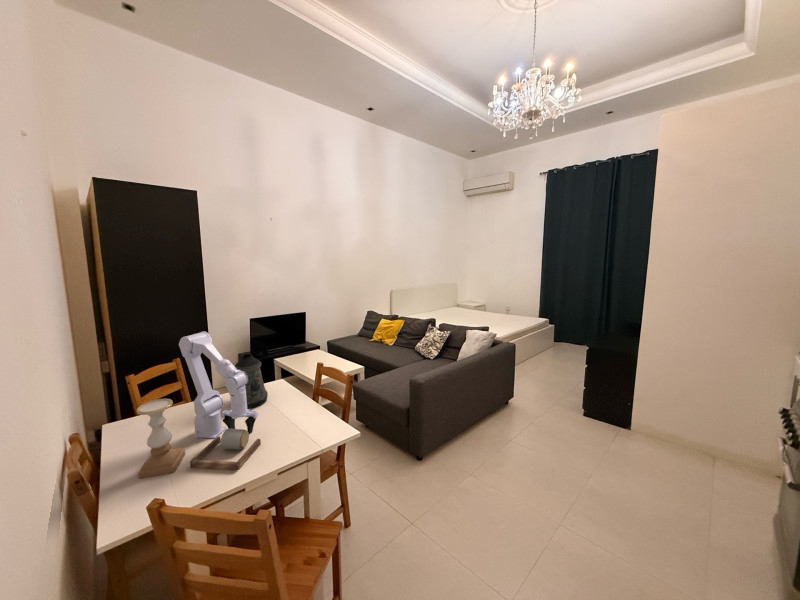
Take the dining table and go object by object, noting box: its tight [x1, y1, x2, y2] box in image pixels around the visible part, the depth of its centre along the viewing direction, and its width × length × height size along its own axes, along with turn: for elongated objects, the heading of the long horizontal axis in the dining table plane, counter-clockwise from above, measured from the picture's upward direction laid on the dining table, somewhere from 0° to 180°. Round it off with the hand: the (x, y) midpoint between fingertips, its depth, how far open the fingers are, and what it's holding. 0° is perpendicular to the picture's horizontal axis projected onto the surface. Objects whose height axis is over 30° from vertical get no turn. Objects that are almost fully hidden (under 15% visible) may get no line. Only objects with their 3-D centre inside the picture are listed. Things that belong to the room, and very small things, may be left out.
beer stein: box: [234, 353, 269, 410], centre depth 160 cm, size 16×19×25 cm
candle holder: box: [136, 398, 186, 479], centre depth 112 cm, size 11×11×24 cm
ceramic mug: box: [220, 427, 250, 450], centre depth 125 cm, size 11×8×8 cm
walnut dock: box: [189, 436, 262, 471], centre depth 119 cm, size 18×15×2 cm
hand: (241, 432), depth 128 cm, fingers open, 7 cm apart
